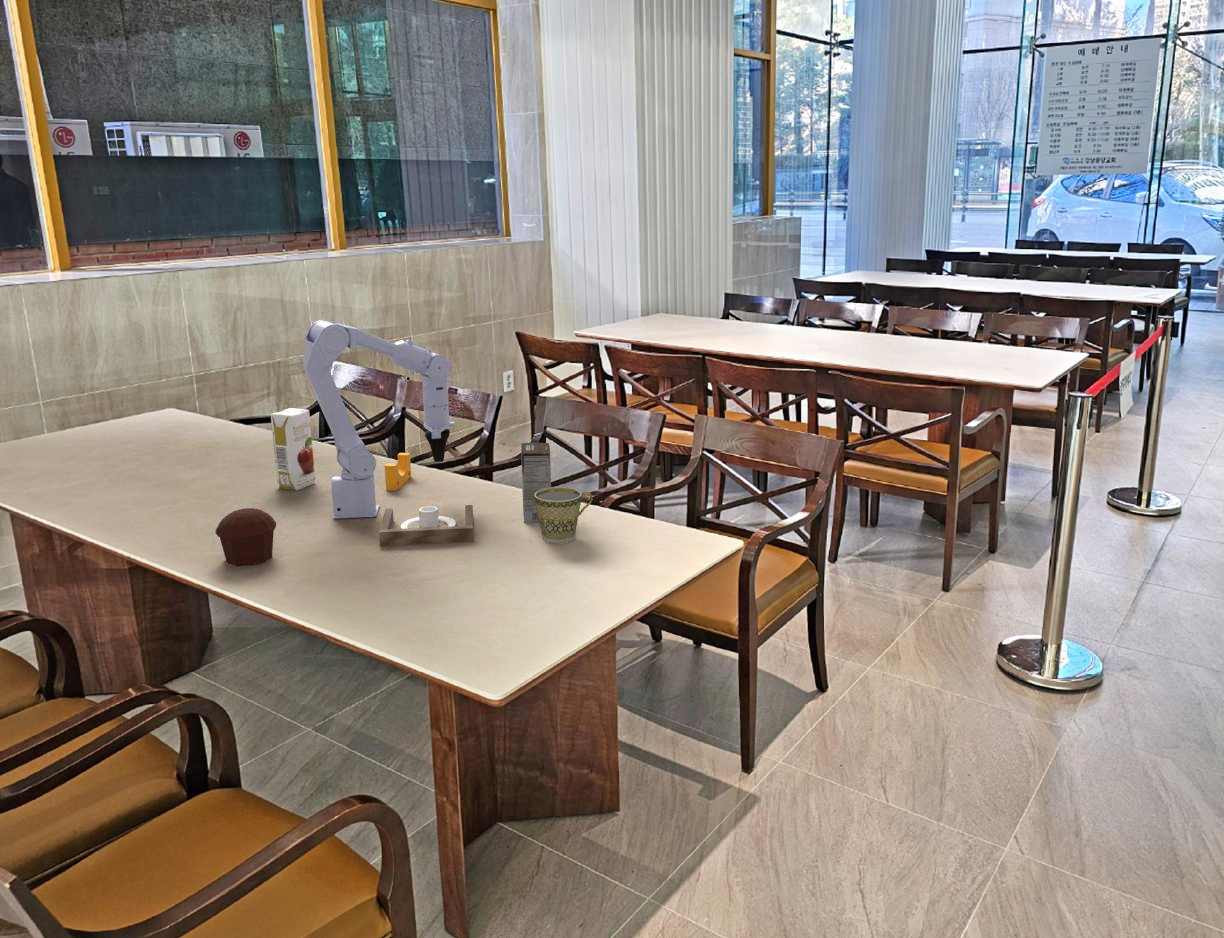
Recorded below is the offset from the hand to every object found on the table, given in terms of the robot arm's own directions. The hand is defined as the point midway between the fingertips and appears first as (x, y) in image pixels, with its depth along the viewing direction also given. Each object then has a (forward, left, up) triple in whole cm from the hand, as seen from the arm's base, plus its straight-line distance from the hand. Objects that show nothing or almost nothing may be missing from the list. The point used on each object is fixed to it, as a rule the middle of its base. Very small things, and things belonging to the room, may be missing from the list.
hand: (439, 460), depth 232 cm
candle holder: (-2, -19, -10) cm, 22 cm away
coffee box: (+22, -16, -10) cm, 29 cm away
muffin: (-37, -34, -10) cm, 51 cm away
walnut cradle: (-2, -22, -9) cm, 24 cm away
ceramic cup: (+27, -31, -10) cm, 42 cm away
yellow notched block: (-12, +15, -10) cm, 21 cm away
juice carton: (-36, +16, -10) cm, 41 cm away
